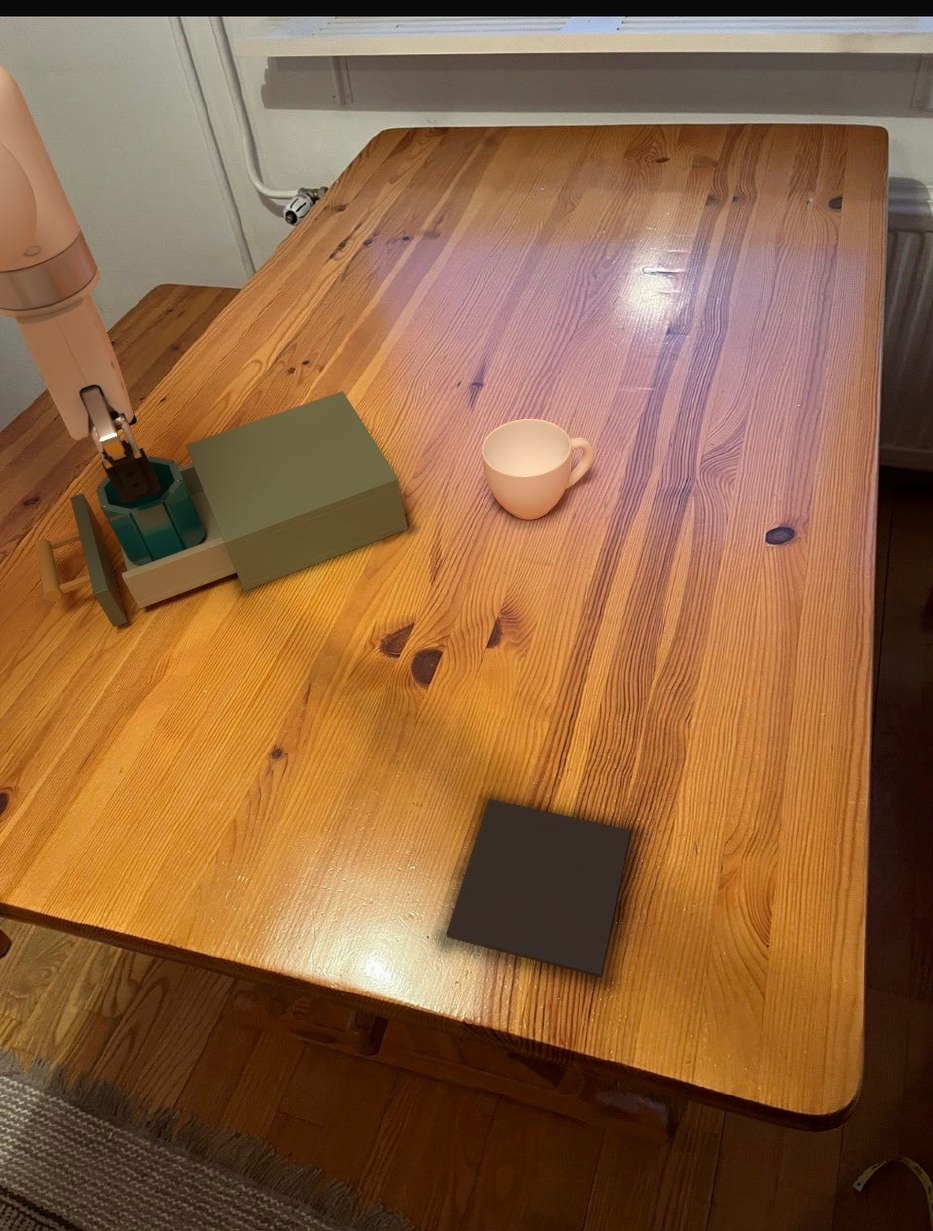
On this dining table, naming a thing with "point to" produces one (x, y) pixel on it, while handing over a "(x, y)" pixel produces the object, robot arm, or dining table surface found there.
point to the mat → (541, 887)
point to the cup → (532, 465)
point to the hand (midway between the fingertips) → (130, 460)
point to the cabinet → (297, 489)
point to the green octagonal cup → (154, 516)
